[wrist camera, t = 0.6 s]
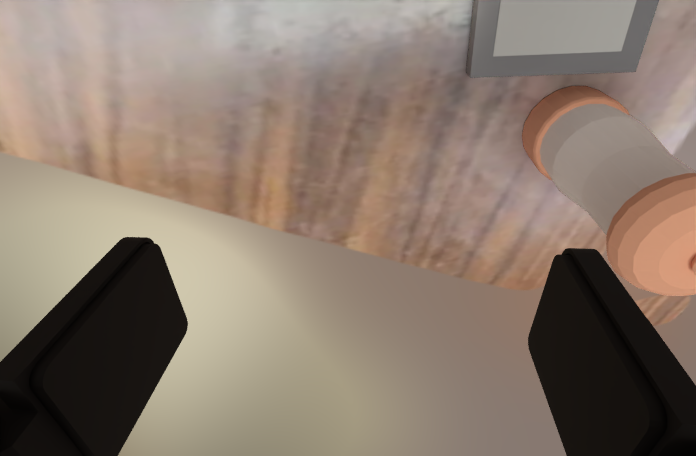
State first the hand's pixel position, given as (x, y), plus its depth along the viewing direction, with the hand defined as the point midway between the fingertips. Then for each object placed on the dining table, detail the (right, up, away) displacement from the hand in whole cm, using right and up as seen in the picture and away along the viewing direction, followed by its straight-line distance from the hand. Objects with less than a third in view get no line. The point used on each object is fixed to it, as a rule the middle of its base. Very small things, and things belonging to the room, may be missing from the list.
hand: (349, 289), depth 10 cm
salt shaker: (+19, +10, +25) cm, 33 cm away
